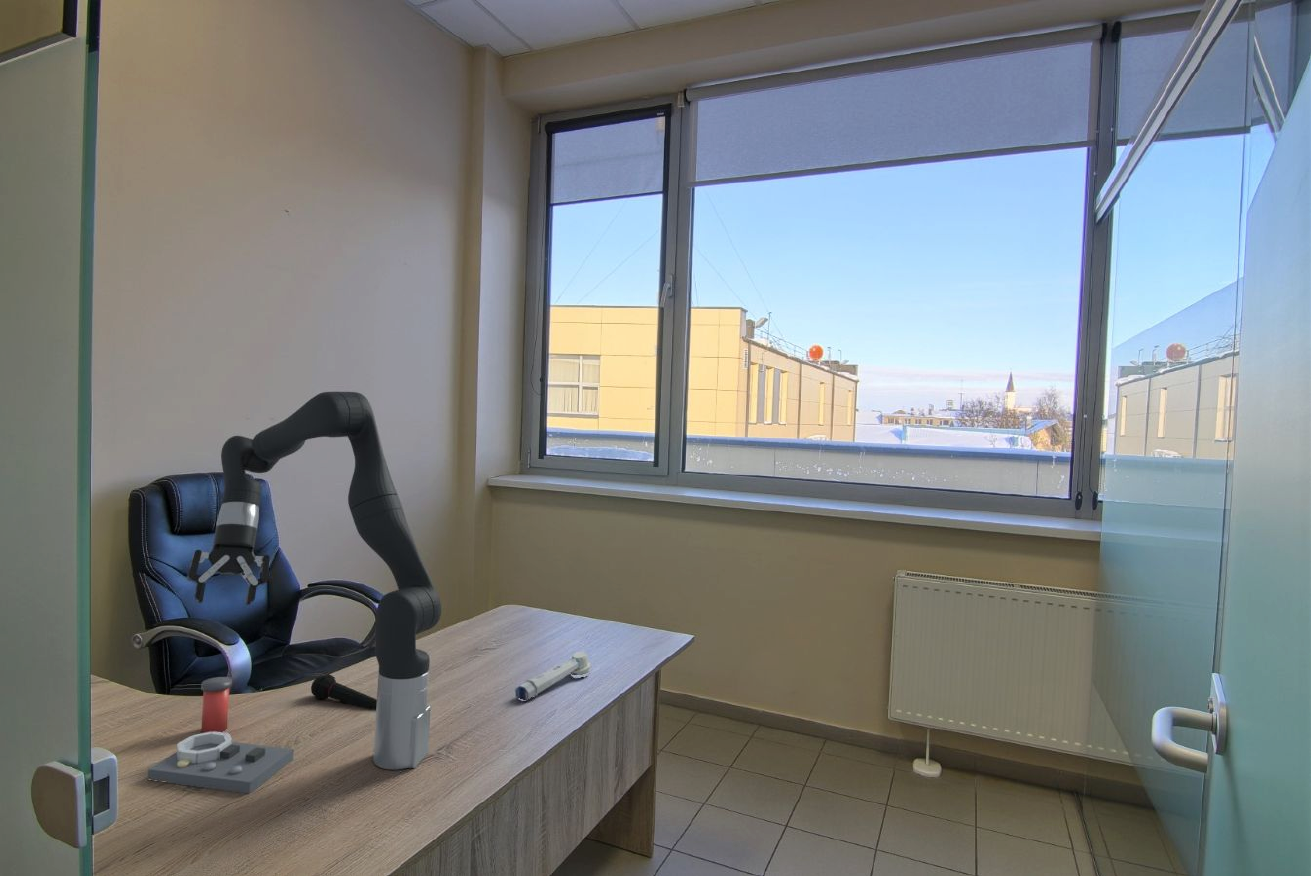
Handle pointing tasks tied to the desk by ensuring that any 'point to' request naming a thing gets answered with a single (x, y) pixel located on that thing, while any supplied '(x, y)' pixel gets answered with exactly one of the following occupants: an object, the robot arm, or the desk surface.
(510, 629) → the desk surface
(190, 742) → the grey control panel
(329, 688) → the microphone
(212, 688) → the cap
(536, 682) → the toothbrush head
